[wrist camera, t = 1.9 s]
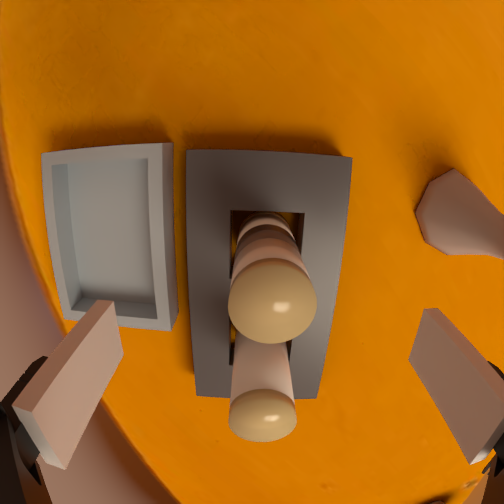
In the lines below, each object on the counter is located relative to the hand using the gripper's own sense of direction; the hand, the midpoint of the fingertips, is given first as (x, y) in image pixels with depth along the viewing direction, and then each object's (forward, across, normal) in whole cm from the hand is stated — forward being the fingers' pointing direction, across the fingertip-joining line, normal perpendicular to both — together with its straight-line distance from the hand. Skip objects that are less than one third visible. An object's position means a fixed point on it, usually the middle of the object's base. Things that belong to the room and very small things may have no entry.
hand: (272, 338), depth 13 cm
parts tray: (+13, -12, 0) cm, 18 cm away
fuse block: (+13, 0, -4) cm, 13 cm away
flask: (+13, +16, +4) cm, 21 cm away
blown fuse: (+13, 0, 0) cm, 13 cm away
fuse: (+13, 0, -8) cm, 15 cm away
